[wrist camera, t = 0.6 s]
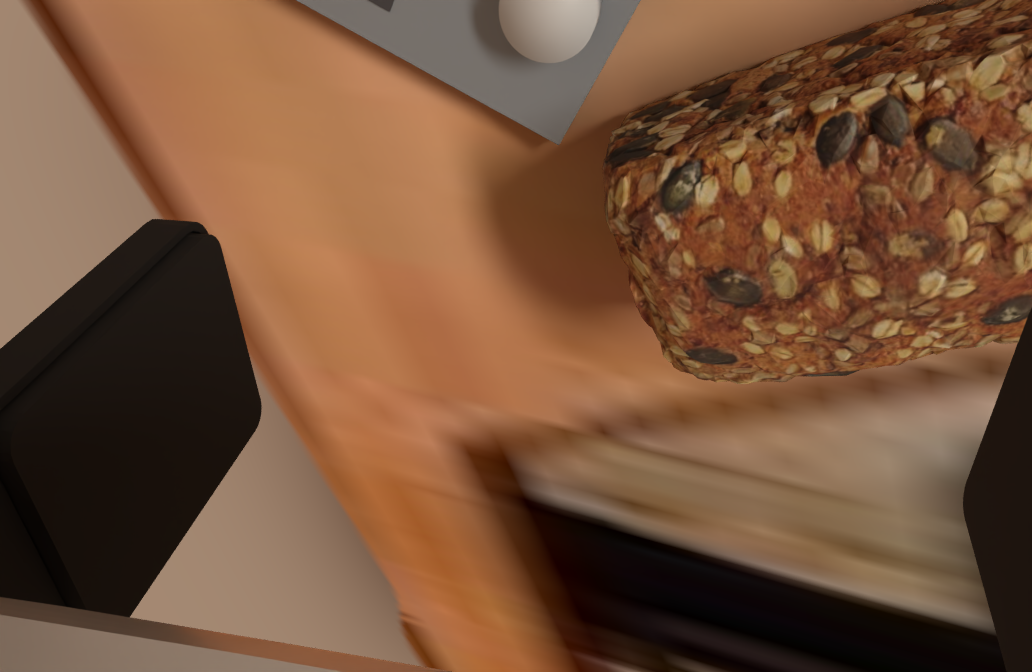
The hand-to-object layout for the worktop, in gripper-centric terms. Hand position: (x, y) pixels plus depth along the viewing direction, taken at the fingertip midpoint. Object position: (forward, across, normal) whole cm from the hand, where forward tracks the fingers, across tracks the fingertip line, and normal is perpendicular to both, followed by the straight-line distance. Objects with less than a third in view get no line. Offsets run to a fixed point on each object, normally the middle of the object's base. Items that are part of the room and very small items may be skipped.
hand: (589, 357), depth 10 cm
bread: (+27, -8, +8) cm, 30 cm away
